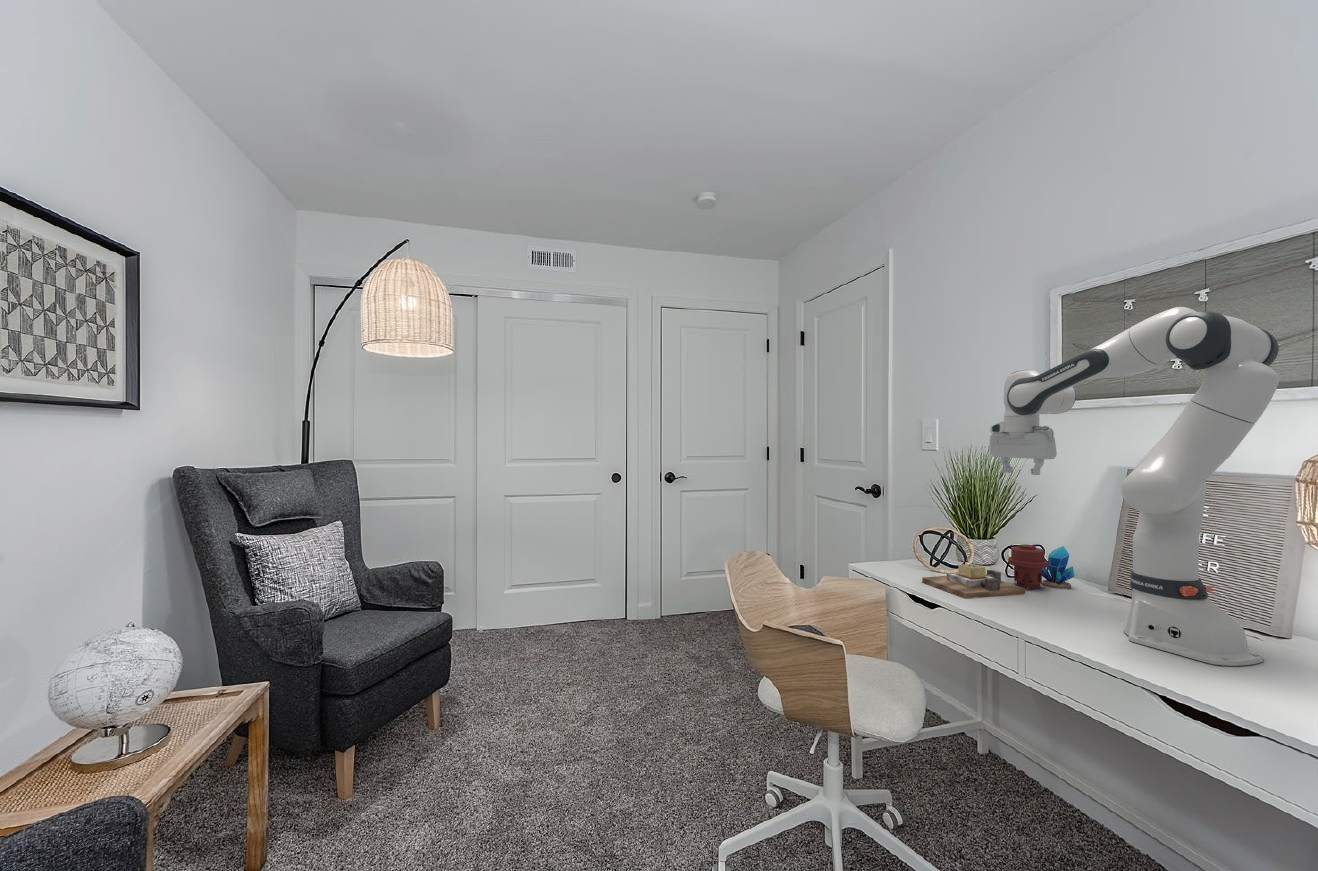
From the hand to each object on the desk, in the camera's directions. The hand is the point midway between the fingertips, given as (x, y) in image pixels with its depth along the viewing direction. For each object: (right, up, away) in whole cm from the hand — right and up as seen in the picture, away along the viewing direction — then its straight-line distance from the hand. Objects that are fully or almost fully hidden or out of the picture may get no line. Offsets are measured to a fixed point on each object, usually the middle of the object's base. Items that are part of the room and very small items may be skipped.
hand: (1021, 473), depth 167 cm
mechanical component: (+4, -34, +4) cm, 35 cm away
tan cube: (-13, -33, +3) cm, 35 cm away
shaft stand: (-13, -34, +3) cm, 37 cm away
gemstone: (+13, -34, +5) cm, 37 cm away
